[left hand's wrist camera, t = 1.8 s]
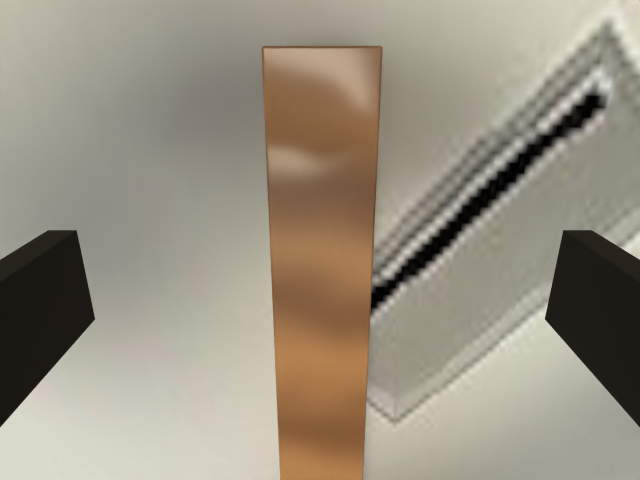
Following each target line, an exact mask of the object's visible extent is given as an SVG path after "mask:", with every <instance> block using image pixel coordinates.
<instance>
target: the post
mask: <svg viewBox="0 0 640 480" xmlns="http://www.w3.org/2000/svg"><path fill="white" fill-rule="evenodd" d="M262 68H263V91H264V114H265V137H266V160H267V183H268V206H269V230H270V253H271V276H272V299H273V322H274V345H275V368H276V391H277V414H278V437H279V460H280V480H363V460H364V438H365V416H366V395H367V373H368V351H369V330H370V308H371V287H372V265H373V243H374V222H375V200H376V178H377V157H378V135H379V114H380V92H381V70H382V47H381V46H263V47H262Z"/></svg>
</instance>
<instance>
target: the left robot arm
mask: <svg viewBox="0 0 640 480" xmlns="http://www.w3.org/2000/svg"><path fill="white" fill-rule="evenodd" d="M94 320H95V316H94V312H93V307H92V302H91V297H90V292H89V288H88V283H87V278H86V273H85V268H84V264H83V259H82V254H81V249H80V244H79V240H78V235H77V230H48V231H46V232H45V233H43V234H41V235H40V236H38V237H37V238H35V239H33V240H32V241H30V242H29V243H27V244H25V245H24V246H22V247H20V248H19V249H17V250H16V251H14V252H12V253H11V254H9V255H7V256H6V257H4V258H3V259H1V260H0V427H1V426H2V425H3V423H4V422H5V421H6V420H7V419H8V418H9V417H10V415H11V414H12V413H13V412H14V411H15V410H16V409H17V408H18V406H19V405H20V404H21V403H22V402H23V401H24V400H25V398H26V397H27V396H28V395H29V394H30V393H31V392H32V390H33V389H34V388H35V387H36V386H37V385H38V384H39V382H40V381H41V380H42V379H43V378H44V377H45V376H46V374H47V373H48V372H49V371H50V370H51V369H52V368H53V366H54V365H55V364H56V363H57V362H58V361H59V360H60V359H61V357H62V356H63V355H64V354H65V353H66V352H67V351H68V349H69V348H70V347H71V346H72V345H73V344H74V343H75V341H76V340H77V339H78V338H79V337H80V336H81V335H82V333H83V332H84V331H85V330H86V329H87V328H88V327H89V325H90V324H91V323H92V322H93V321H94ZM545 320H546V321H547V322H548V323H549V324H550V325H551V327H552V328H553V329H554V330H555V331H556V332H557V333H558V335H559V336H560V337H561V338H562V339H563V340H564V341H565V343H566V344H567V345H568V346H569V347H570V348H571V349H572V351H573V352H574V353H575V354H576V355H577V356H578V357H579V359H580V360H581V361H582V362H583V363H584V364H585V365H586V366H587V368H588V369H589V370H590V371H591V372H592V373H593V374H594V376H595V377H596V378H597V379H598V380H599V381H600V382H601V384H602V385H603V386H604V387H605V388H606V389H607V390H608V392H609V393H610V394H611V395H612V396H613V397H614V398H615V400H616V401H617V402H618V403H619V404H620V405H621V406H622V408H623V409H624V410H625V411H626V412H627V413H628V414H629V415H630V417H631V418H632V419H633V420H634V421H635V422H636V423H637V425H638V426H639V427H640V260H639V259H637V258H636V257H634V256H633V255H631V254H629V253H628V252H626V251H624V250H623V249H621V248H620V247H618V246H616V245H615V244H613V243H611V242H610V241H608V240H607V239H605V238H603V237H602V236H600V235H599V234H597V233H595V232H594V231H592V230H563V235H562V240H561V244H560V249H559V254H558V259H557V264H556V268H555V273H554V278H553V283H552V288H551V292H550V297H549V302H548V307H547V312H546V316H545Z"/></svg>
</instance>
